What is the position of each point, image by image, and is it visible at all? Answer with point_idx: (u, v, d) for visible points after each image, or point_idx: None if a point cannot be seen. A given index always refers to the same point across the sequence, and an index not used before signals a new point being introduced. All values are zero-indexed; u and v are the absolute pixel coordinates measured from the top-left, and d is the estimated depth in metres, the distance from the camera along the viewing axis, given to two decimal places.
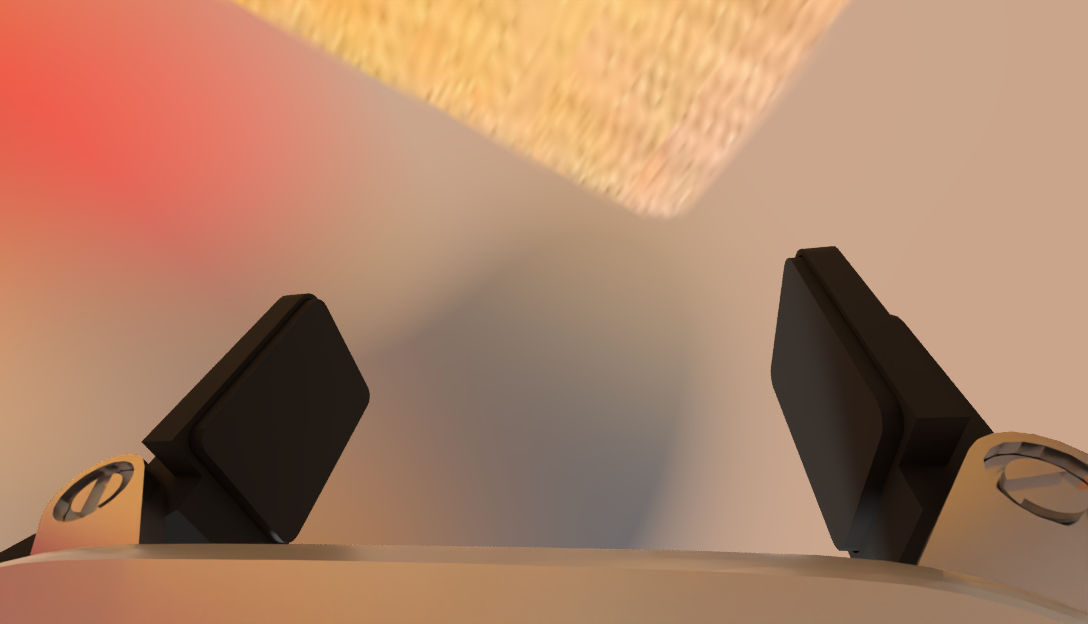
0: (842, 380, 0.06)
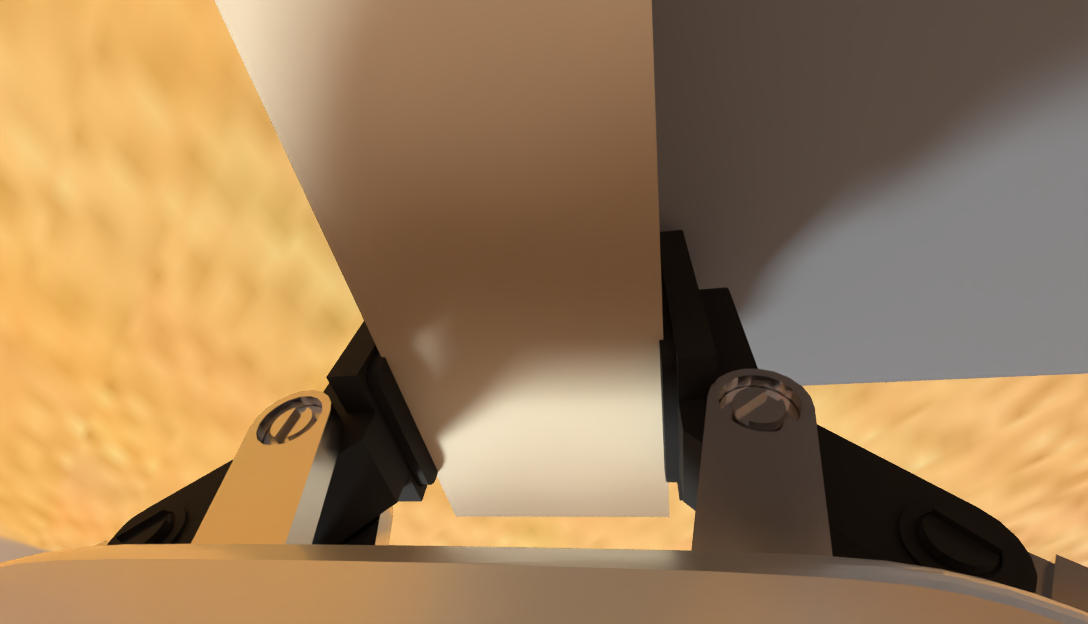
0: None
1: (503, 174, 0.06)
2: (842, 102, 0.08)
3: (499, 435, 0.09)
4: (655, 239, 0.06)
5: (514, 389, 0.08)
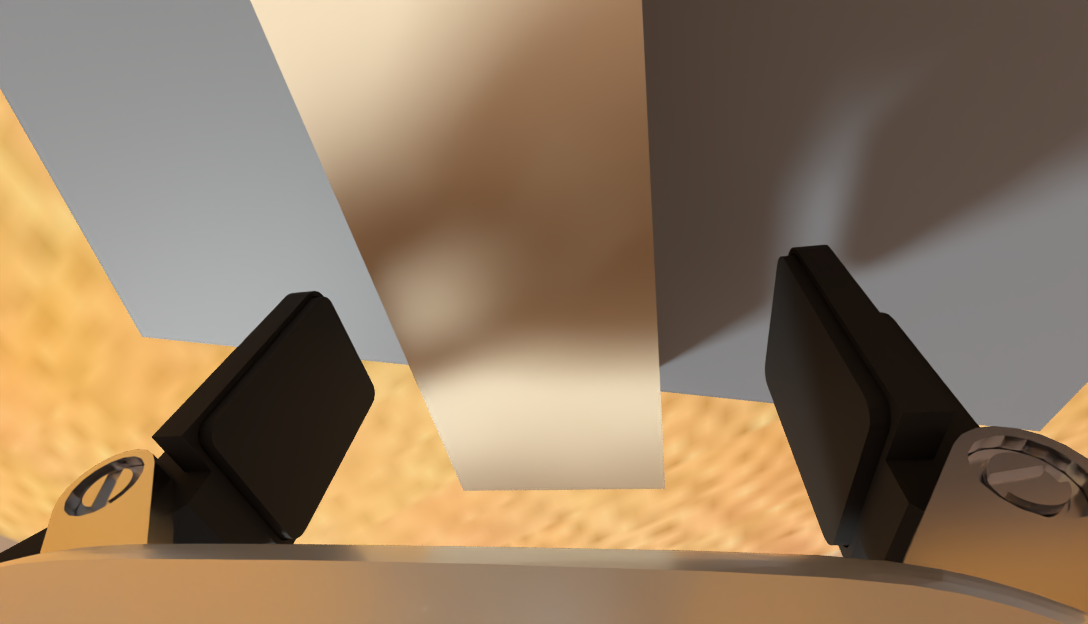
0: (832, 376, 0.07)
1: (510, 161, 0.06)
2: None
3: (505, 410, 0.09)
4: (648, 221, 0.07)
5: (519, 364, 0.09)
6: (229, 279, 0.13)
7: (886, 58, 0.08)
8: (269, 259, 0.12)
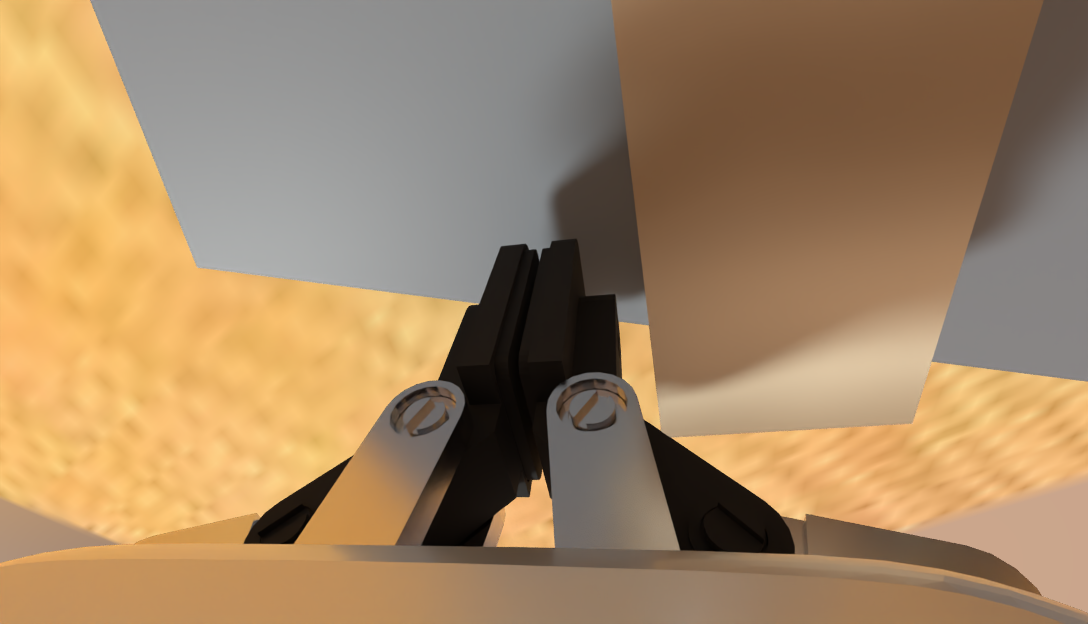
0: None
1: None
2: (574, 16, 0.09)
3: (745, 331, 0.08)
4: (1022, 52, 0.05)
5: (783, 269, 0.07)
6: (308, 199, 0.11)
7: None
8: (357, 175, 0.11)
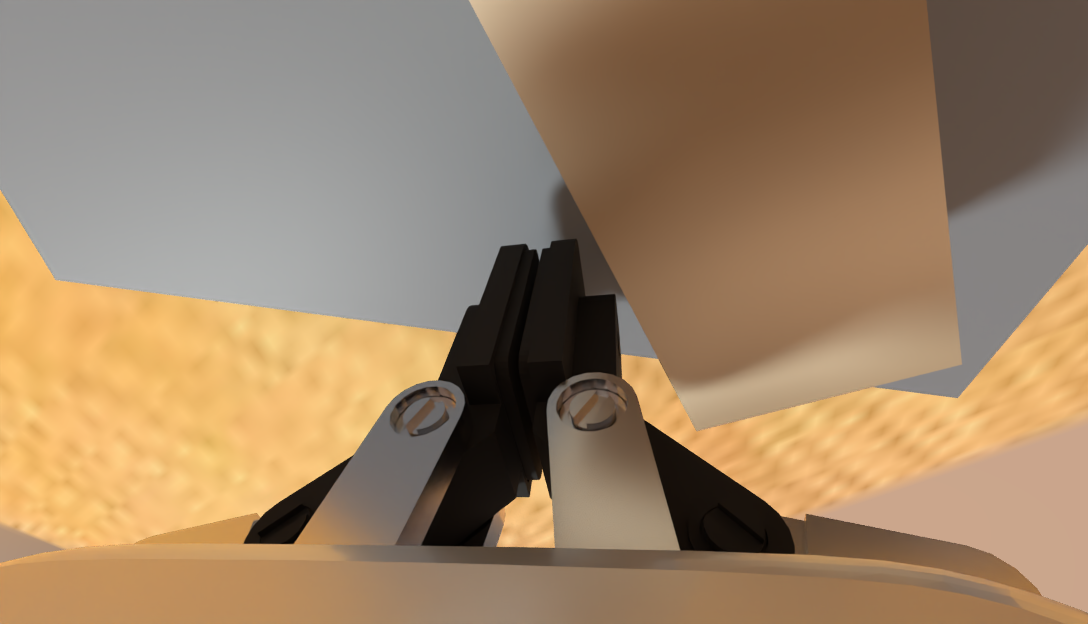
0: None
1: None
2: (338, 57, 0.10)
3: (739, 310, 0.08)
4: None
5: (751, 241, 0.07)
6: (142, 218, 0.12)
7: None
8: (181, 196, 0.12)
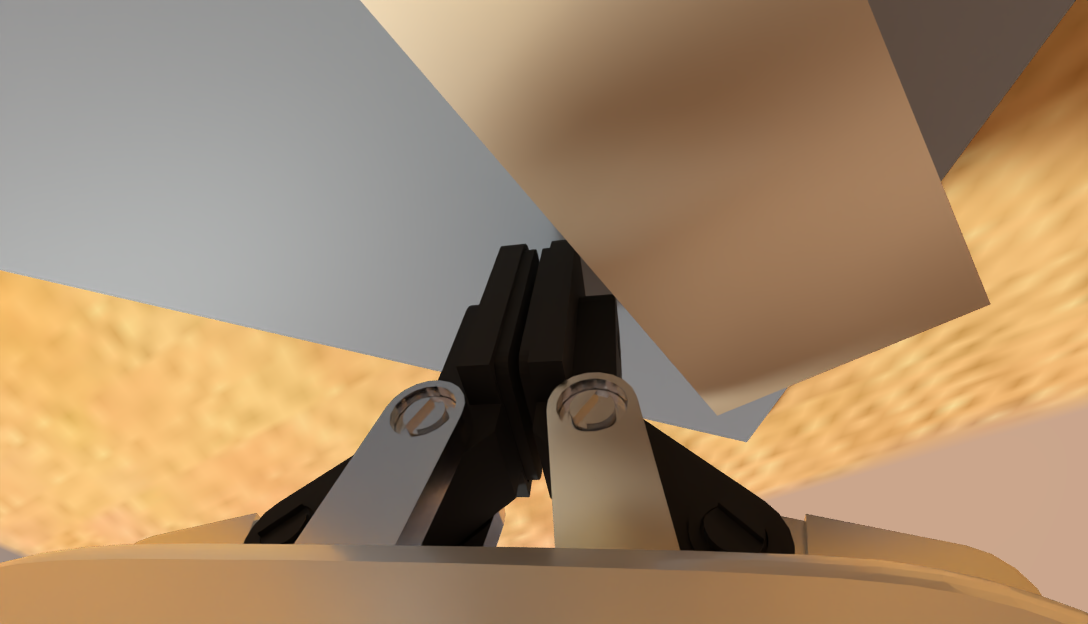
0: None
1: None
2: (172, 80, 0.10)
3: (727, 284, 0.08)
4: None
5: (723, 212, 0.07)
6: None
7: None
8: (23, 183, 0.12)
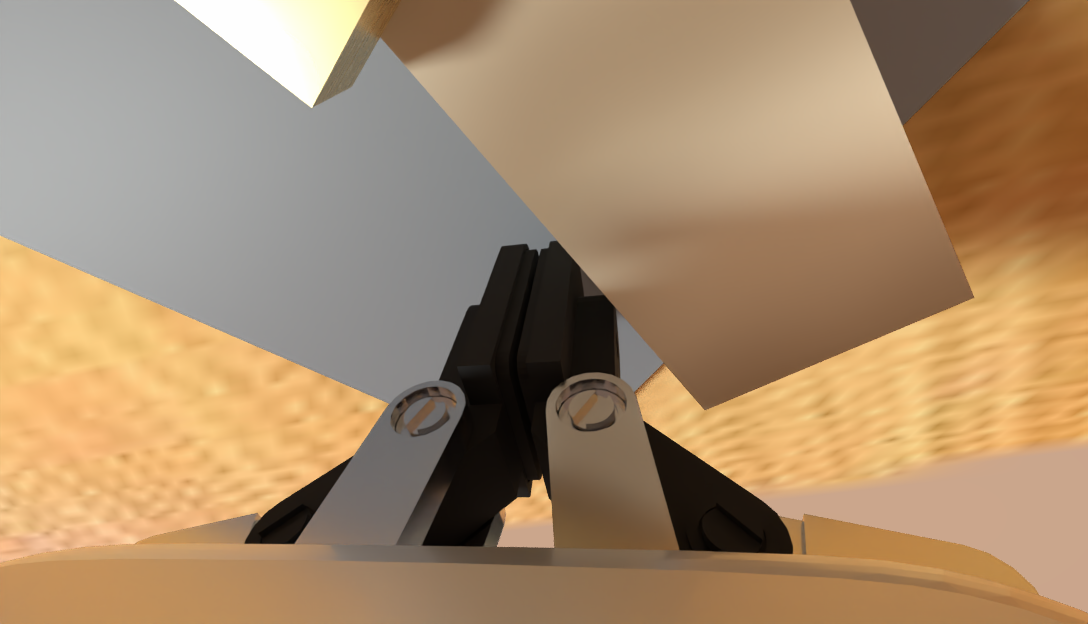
0: None
1: None
2: (34, 17, 0.10)
3: (712, 278, 0.08)
4: None
5: (706, 205, 0.07)
6: None
7: (438, 151, 0.10)
8: None
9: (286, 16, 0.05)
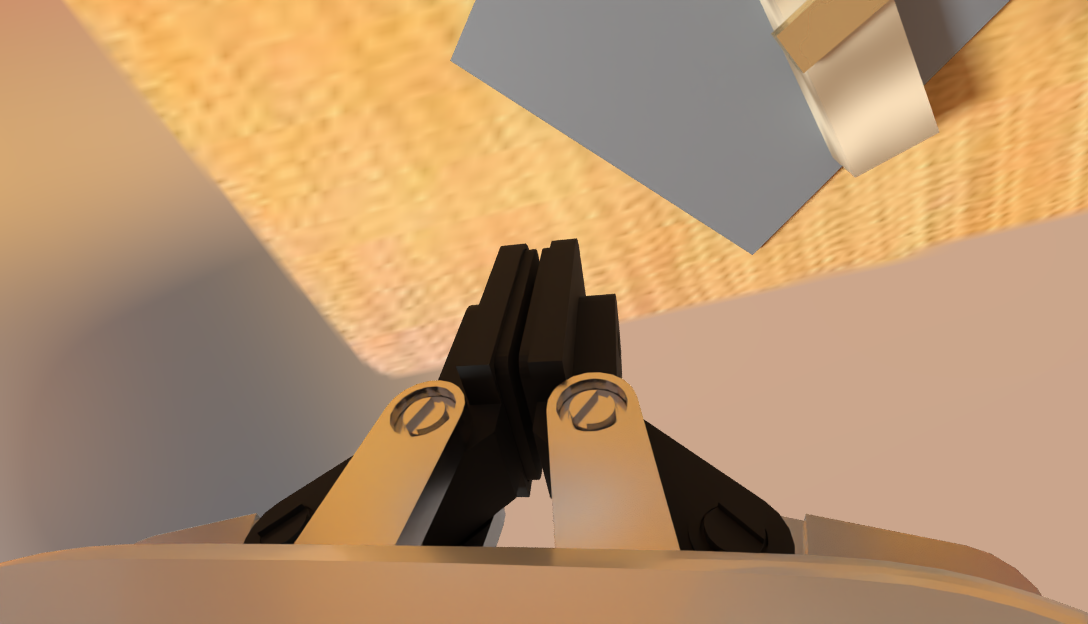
0: None
1: (859, 37, 0.25)
2: (634, 46, 0.29)
3: (868, 126, 0.27)
4: (903, 32, 0.24)
5: (871, 103, 0.26)
6: (517, 57, 0.30)
7: (759, 95, 0.30)
8: (541, 58, 0.30)
9: (809, 55, 0.24)
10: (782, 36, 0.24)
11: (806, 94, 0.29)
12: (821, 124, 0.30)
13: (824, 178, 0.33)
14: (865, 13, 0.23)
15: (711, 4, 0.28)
